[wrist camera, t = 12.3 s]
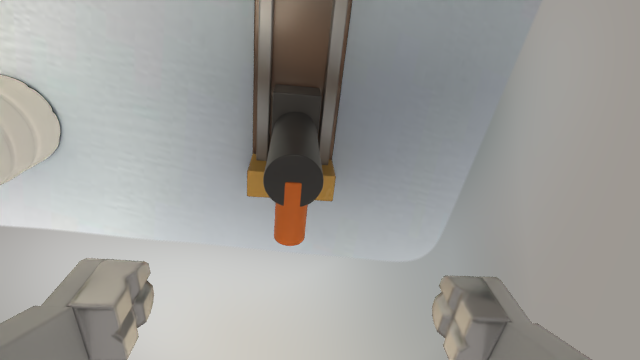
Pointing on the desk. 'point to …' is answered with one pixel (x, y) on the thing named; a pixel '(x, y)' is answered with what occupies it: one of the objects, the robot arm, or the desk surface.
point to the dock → (257, 174)
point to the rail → (299, 61)
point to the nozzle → (293, 160)
